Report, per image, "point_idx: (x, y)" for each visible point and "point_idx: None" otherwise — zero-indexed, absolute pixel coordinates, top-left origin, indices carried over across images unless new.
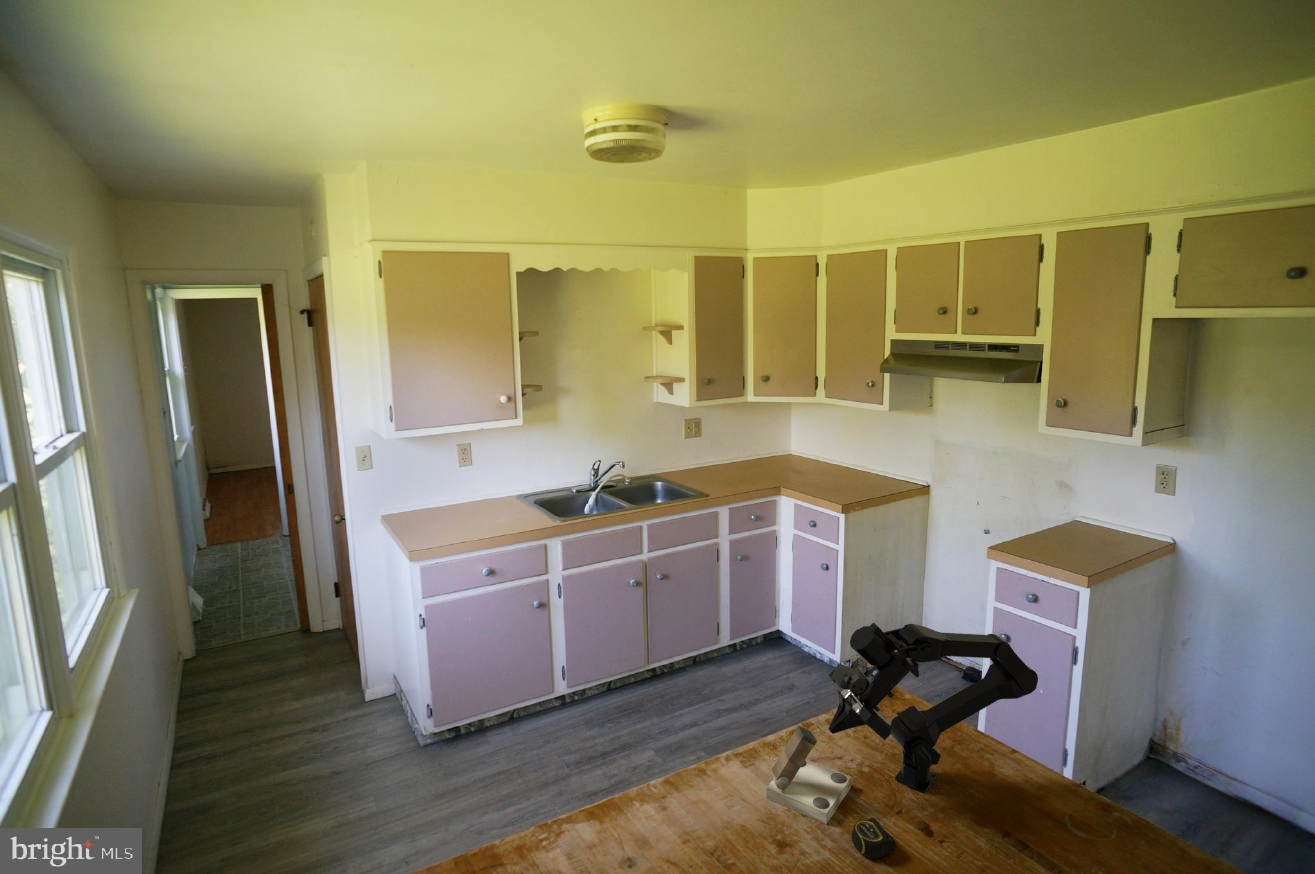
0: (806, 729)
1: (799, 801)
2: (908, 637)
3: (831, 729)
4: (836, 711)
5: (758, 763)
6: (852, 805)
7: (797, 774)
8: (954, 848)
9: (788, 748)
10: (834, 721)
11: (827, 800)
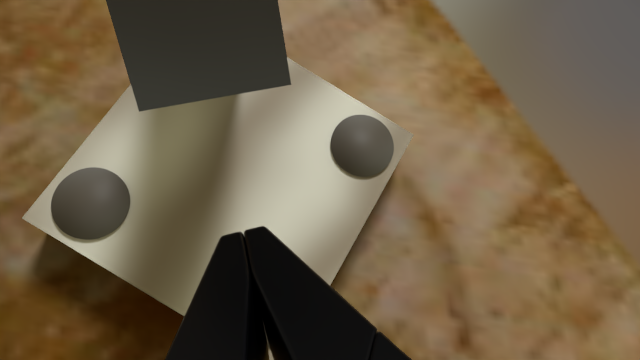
0: (281, 30)
1: (108, 114)
2: None
3: (216, 251)
4: (399, 357)
5: (389, 28)
6: (165, 352)
7: (283, 130)
8: None
9: None
10: (265, 296)
11: (105, 233)
